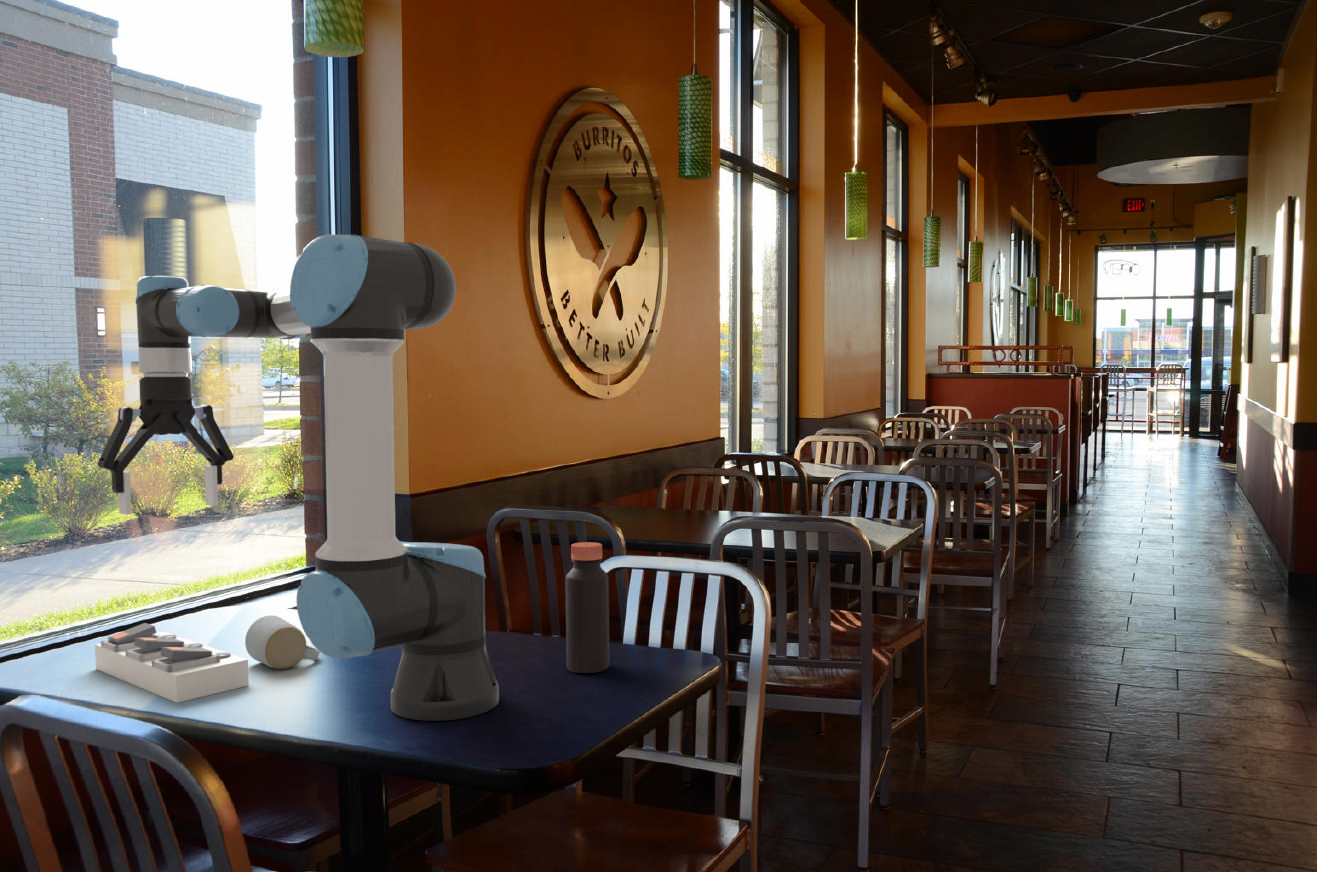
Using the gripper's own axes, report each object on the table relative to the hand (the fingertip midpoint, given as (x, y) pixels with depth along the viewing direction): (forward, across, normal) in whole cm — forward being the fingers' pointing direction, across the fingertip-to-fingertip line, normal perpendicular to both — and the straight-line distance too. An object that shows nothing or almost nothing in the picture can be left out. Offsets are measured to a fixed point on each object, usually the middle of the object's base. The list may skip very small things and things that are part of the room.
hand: (169, 509), depth 168 cm
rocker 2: (+21, +4, +12) cm, 25 cm away
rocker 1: (+21, +4, -6) cm, 22 cm away
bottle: (+26, -44, +50) cm, 71 cm away
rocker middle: (+21, +4, +3) cm, 21 cm away
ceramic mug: (+26, -14, +10) cm, 31 cm away
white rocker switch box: (+26, +2, +3) cm, 26 cm away
